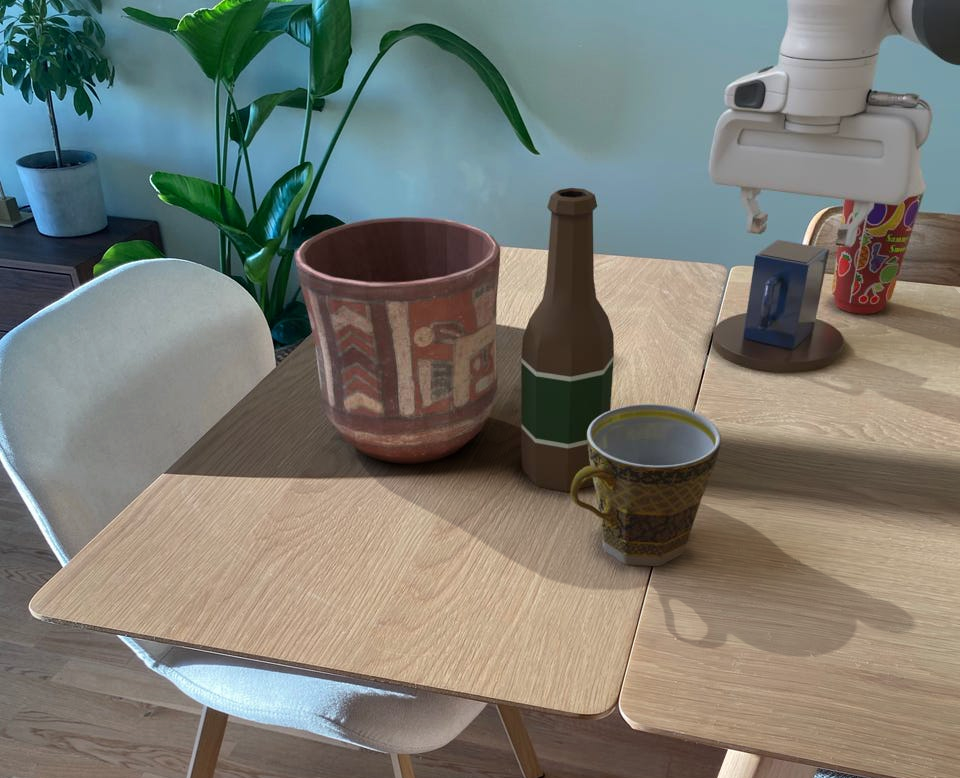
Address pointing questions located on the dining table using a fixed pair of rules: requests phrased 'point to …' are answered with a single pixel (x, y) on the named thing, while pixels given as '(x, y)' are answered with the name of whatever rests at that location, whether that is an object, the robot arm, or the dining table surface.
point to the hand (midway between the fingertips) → (799, 238)
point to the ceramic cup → (648, 478)
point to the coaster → (777, 348)
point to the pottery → (404, 332)
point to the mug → (785, 293)
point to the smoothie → (874, 254)
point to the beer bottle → (565, 351)
